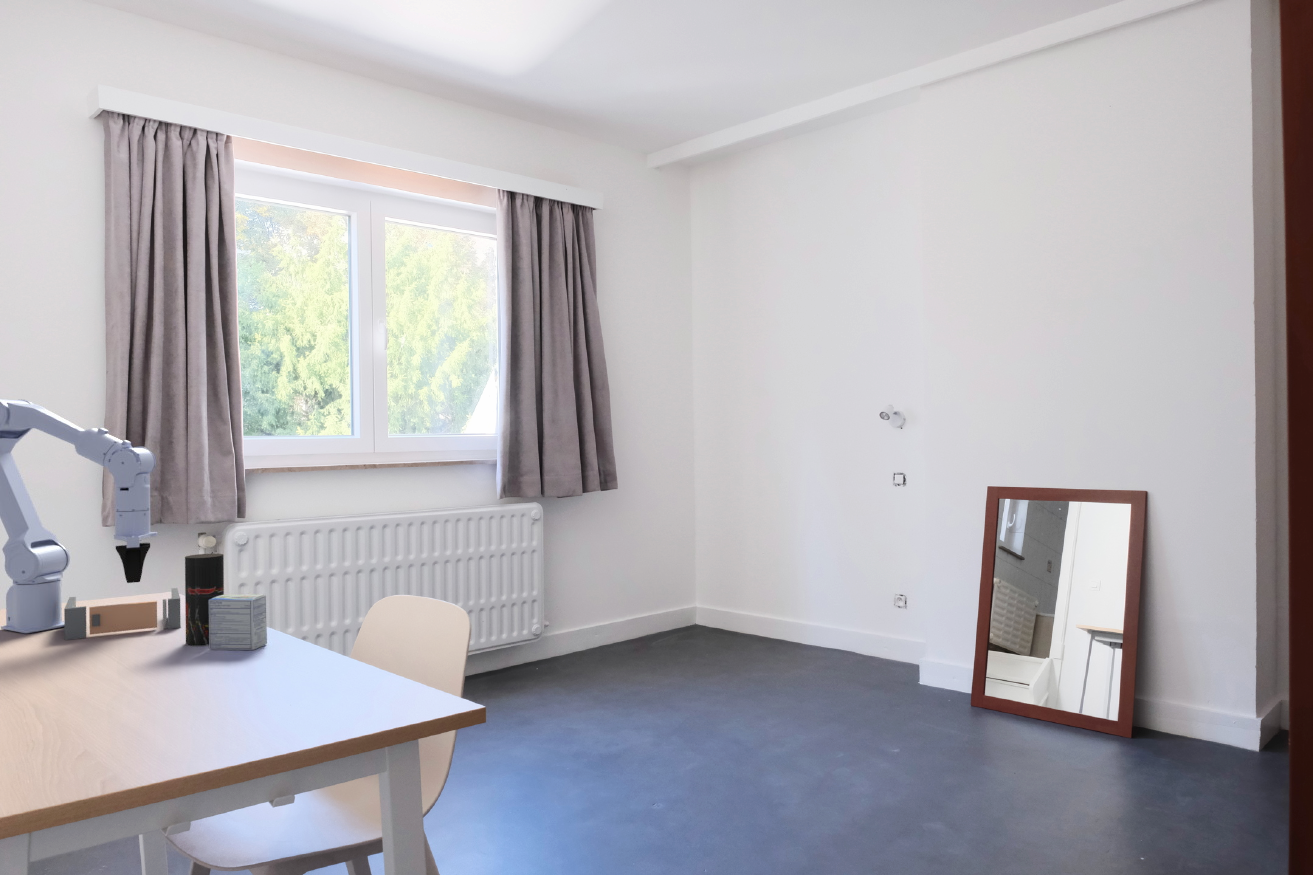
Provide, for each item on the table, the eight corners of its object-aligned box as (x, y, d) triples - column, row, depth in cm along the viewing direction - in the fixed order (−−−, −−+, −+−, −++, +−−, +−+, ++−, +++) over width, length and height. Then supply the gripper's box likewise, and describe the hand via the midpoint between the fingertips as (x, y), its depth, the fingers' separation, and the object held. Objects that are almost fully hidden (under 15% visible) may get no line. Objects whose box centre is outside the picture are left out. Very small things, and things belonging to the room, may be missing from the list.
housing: (69, 626, 165) (69, 597, 165) (177, 615, 174) (177, 587, 174) (64, 639, 153) (64, 608, 153) (180, 627, 162) (180, 598, 162)
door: (89, 633, 156) (89, 606, 156) (157, 626, 161) (156, 600, 161) (89, 635, 154) (89, 608, 154) (157, 627, 160) (156, 601, 160)
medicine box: (267, 644, 147) (267, 594, 148) (253, 651, 143) (252, 598, 143) (224, 644, 148) (223, 593, 148) (208, 650, 144) (207, 598, 144)
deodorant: (212, 645, 147) (212, 557, 147) (178, 646, 147) (177, 558, 147) (230, 637, 153) (230, 553, 153) (197, 638, 153) (196, 553, 153)
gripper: (157, 511, 160) (158, 585, 160) (156, 507, 172) (157, 575, 172) (112, 513, 156) (113, 588, 156) (114, 509, 168) (115, 578, 168)
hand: (133, 582), depth 164 cm, fingers closed
